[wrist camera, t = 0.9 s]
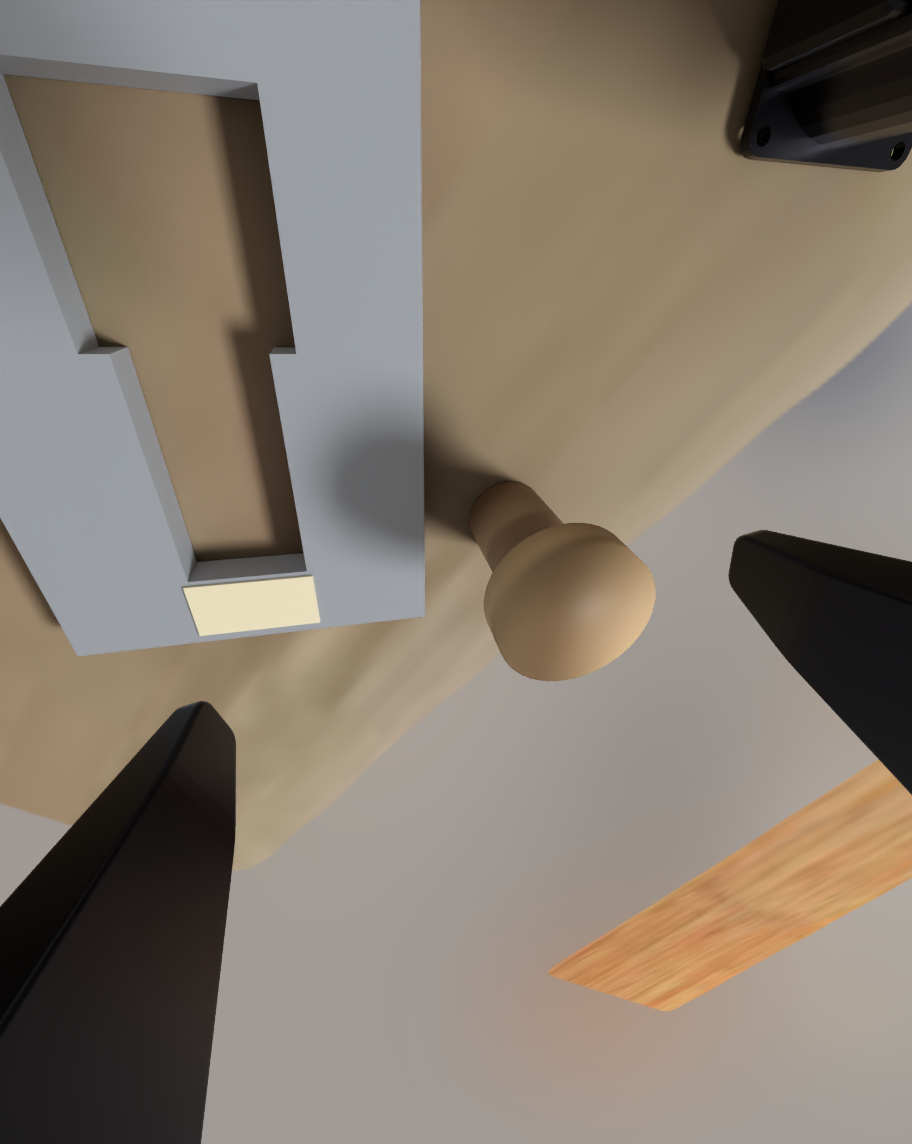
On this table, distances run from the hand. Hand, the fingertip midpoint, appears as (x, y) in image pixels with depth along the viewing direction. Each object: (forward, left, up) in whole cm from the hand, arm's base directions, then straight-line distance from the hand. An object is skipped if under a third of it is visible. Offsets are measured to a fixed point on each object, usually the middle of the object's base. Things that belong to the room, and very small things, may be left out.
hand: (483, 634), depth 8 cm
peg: (-5, +4, -13) cm, 14 cm away
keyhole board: (+6, -2, -12) cm, 14 cm away
